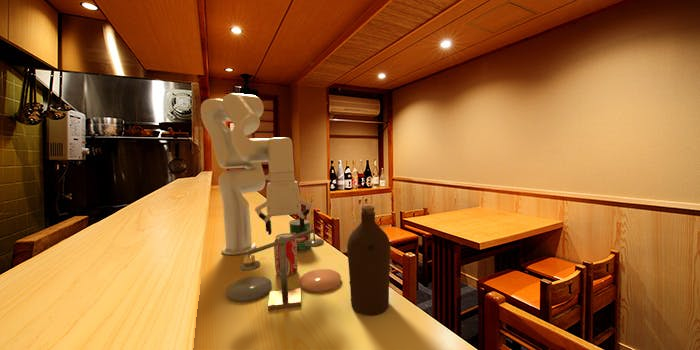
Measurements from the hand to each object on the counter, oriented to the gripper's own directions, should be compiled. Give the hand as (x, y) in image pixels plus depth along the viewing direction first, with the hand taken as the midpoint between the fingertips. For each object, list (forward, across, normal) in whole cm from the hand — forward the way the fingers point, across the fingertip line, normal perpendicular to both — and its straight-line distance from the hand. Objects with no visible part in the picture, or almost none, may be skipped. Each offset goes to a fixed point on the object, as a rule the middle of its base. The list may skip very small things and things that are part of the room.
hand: (285, 232), depth 88 cm
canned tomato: (+13, +4, +21) cm, 25 cm away
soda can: (+14, -1, +1) cm, 14 cm away
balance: (+14, -1, -16) cm, 21 cm away
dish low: (+14, -11, -8) cm, 19 cm away
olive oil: (+14, +20, -23) cm, 34 cm away
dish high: (+14, +9, -8) cm, 19 cm away
